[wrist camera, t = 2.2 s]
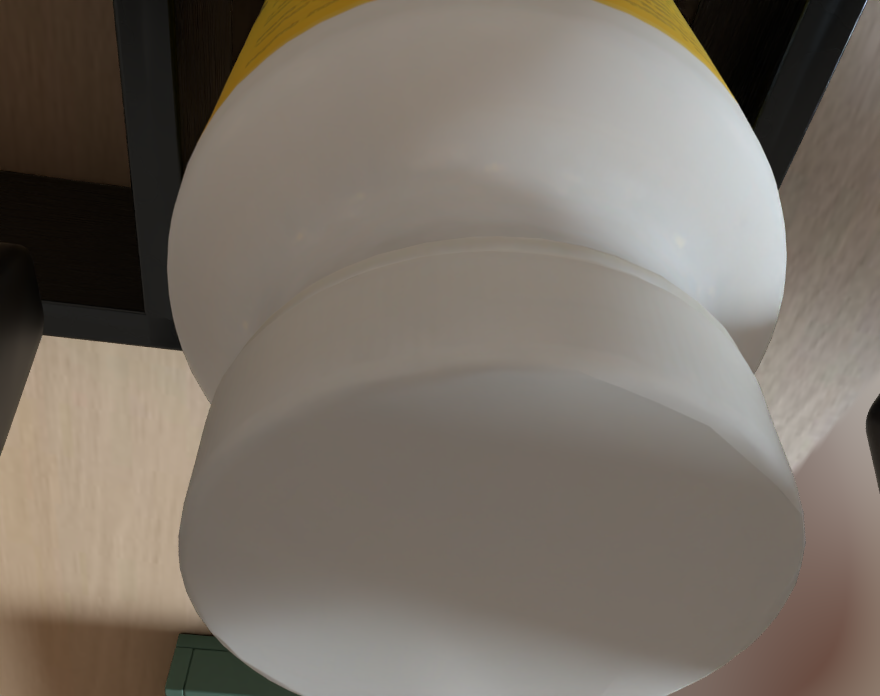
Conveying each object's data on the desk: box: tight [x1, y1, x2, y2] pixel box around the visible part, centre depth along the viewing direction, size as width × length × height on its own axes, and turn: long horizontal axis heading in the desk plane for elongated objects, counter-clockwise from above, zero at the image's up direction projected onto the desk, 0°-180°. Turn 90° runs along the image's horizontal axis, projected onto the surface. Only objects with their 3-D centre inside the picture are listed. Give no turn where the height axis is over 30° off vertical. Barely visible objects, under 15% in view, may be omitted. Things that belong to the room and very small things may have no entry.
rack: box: [0, 0, 868, 351], centre depth 13 cm, size 19×10×4 cm, turn 81°
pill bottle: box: [167, 0, 806, 696], centre depth 11 cm, size 6×6×12 cm
